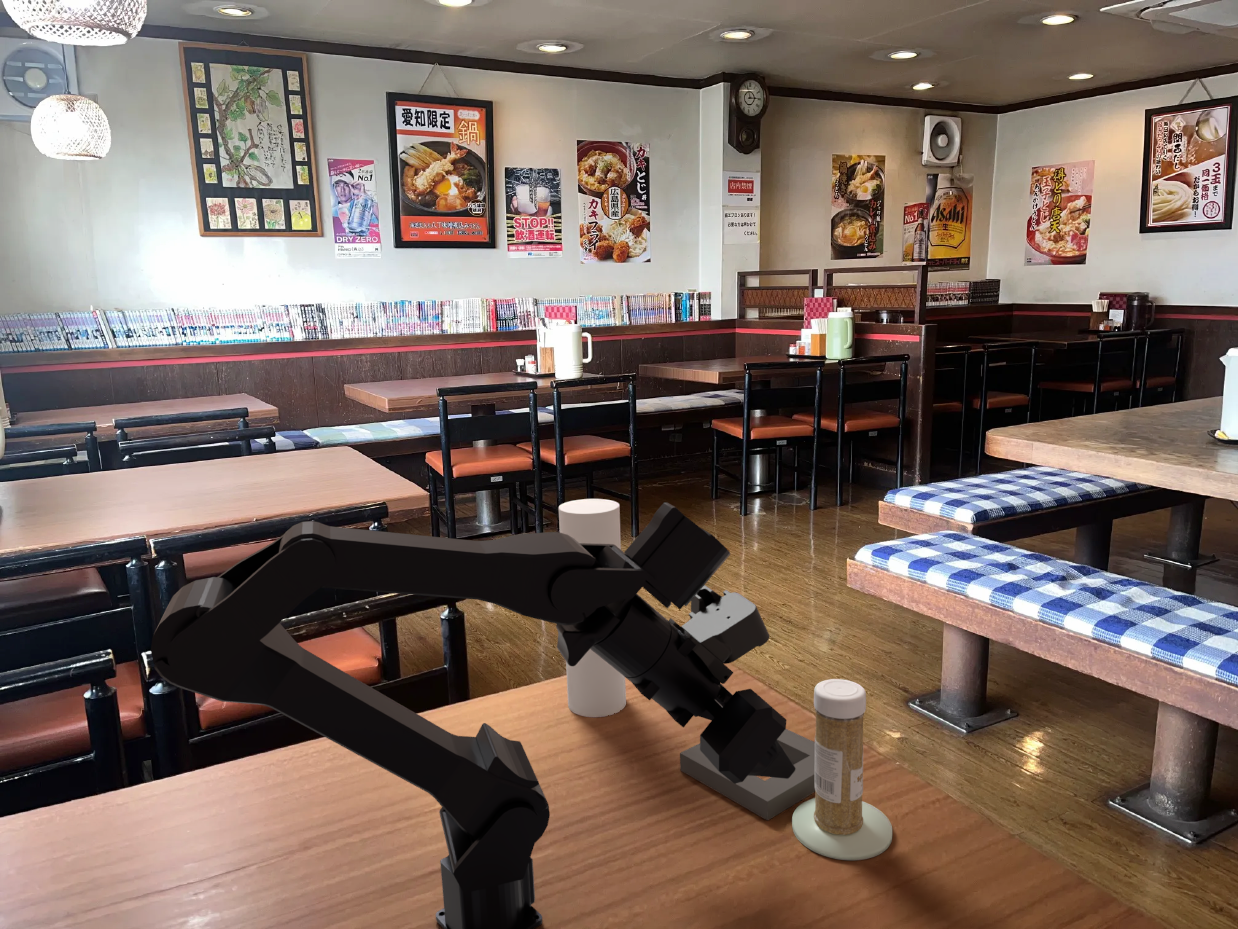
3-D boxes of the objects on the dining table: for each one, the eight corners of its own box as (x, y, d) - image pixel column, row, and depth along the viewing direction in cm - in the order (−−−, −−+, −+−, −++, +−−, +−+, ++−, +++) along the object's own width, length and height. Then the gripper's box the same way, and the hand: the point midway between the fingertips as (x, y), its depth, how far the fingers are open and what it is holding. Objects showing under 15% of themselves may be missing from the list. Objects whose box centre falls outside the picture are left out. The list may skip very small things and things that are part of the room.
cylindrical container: (636, 697, 109) (630, 502, 104) (605, 722, 103) (597, 516, 98) (589, 685, 113) (581, 496, 108) (556, 708, 107) (546, 509, 102)
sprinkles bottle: (872, 832, 80) (875, 695, 77) (826, 841, 79) (828, 702, 76) (847, 804, 84) (850, 674, 82) (804, 812, 83) (805, 680, 81)
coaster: (852, 874, 75) (852, 868, 75) (772, 827, 82) (772, 821, 82) (911, 831, 81) (911, 825, 81) (831, 790, 88) (831, 785, 88)
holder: (767, 820, 83) (767, 801, 83) (680, 770, 92) (679, 753, 92) (844, 773, 91) (845, 756, 90) (756, 731, 100) (756, 715, 99)
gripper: (764, 609, 63) (887, 723, 69) (665, 542, 81) (770, 637, 86) (664, 729, 62) (797, 835, 68) (585, 635, 80) (697, 726, 85)
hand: (764, 746), depth 77 cm, fingers open, 9 cm apart
